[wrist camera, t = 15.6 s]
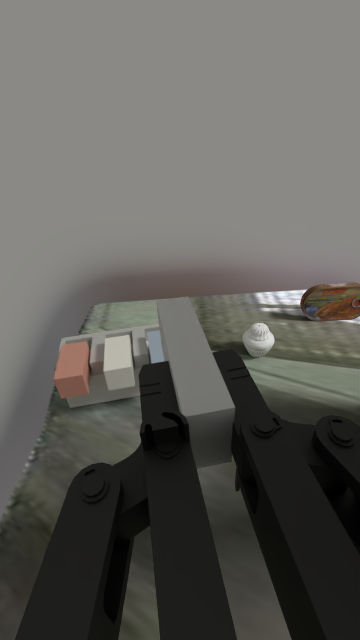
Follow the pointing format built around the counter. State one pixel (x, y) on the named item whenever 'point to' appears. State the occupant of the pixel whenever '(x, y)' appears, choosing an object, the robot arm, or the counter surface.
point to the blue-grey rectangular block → (155, 346)
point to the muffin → (258, 340)
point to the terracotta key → (73, 370)
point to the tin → (332, 302)
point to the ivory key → (118, 362)
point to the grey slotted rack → (97, 378)
